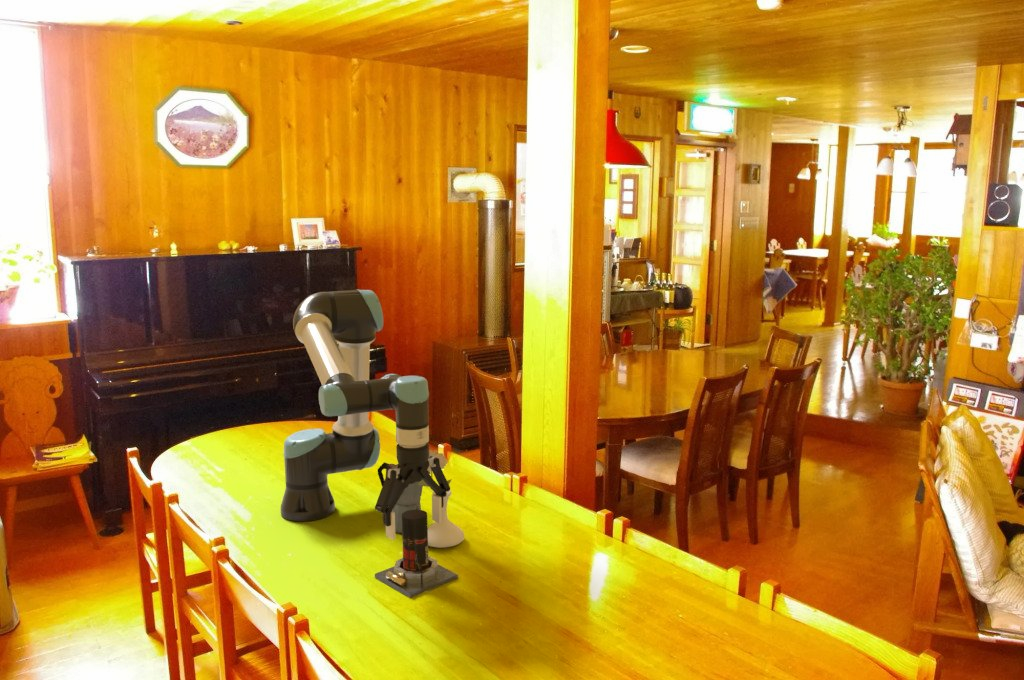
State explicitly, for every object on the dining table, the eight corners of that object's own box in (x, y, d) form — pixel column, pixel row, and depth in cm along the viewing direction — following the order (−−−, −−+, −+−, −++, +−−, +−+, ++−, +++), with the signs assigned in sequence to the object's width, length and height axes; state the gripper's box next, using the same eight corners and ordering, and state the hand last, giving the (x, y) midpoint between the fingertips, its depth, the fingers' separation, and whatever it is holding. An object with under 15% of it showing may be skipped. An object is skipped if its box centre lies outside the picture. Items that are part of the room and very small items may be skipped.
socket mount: (374, 577, 198) (374, 563, 197) (421, 559, 208) (421, 546, 207) (410, 598, 188) (409, 583, 188) (457, 578, 198) (457, 564, 197)
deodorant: (404, 569, 200) (402, 510, 198) (428, 567, 201) (427, 509, 198) (403, 580, 195) (401, 519, 192) (428, 579, 195) (427, 518, 192)
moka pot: (426, 537, 221) (425, 465, 218) (372, 532, 224) (369, 461, 221) (437, 523, 230) (435, 454, 227) (384, 519, 233) (382, 450, 230)
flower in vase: (471, 537, 221) (470, 446, 217) (454, 554, 211) (453, 460, 206) (426, 530, 225) (424, 442, 221) (408, 547, 215) (405, 454, 210)
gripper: (377, 459, 181) (379, 550, 185) (464, 435, 198) (464, 519, 202) (357, 451, 186) (360, 539, 190) (444, 428, 203) (445, 510, 207)
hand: (414, 529), depth 196 cm, fingers open, 13 cm apart
